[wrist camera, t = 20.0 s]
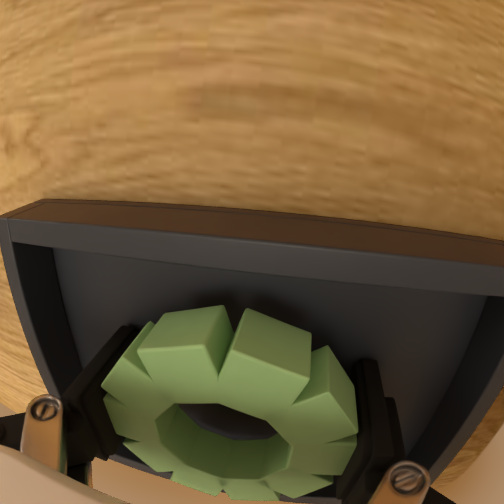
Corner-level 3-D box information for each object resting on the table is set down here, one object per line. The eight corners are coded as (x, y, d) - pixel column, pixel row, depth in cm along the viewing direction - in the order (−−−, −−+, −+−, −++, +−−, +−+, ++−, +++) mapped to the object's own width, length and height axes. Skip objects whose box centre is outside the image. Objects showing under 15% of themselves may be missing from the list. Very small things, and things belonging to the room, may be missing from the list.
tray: (512, 242, 8) (554, 273, 6) (409, 461, 12) (415, 501, 10) (41, 198, 10) (-6, 217, 8) (96, 413, 15) (74, 444, 12)
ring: (381, 320, 8) (394, 366, 6) (325, 473, 10) (323, 509, 9) (110, 285, 9) (73, 317, 7) (147, 442, 11) (131, 473, 10)
